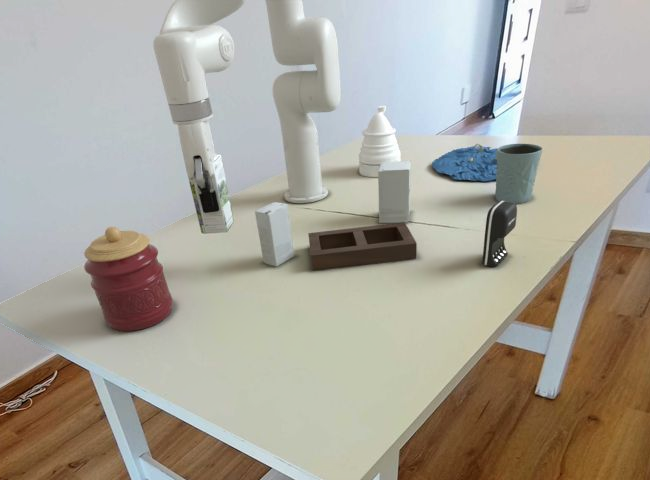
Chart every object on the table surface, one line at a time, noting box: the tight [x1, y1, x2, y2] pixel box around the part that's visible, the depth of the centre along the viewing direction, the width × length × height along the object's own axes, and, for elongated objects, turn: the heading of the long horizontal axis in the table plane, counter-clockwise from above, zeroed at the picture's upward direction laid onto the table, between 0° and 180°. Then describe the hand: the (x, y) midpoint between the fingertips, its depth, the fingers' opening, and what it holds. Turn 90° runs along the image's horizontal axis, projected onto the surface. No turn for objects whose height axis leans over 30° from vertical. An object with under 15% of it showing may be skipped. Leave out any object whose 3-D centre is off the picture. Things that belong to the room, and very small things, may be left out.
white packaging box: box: [377, 160, 412, 224], centre depth 120 cm, size 7×7×13 cm
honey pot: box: [358, 105, 402, 178], centre depth 151 cm, size 13×13×18 cm
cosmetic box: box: [254, 201, 295, 267], centre depth 106 cm, size 6×4×12 cm
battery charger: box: [481, 201, 518, 267], centre depth 96 cm, size 7×4×11 cm, turn 142°
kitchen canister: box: [83, 226, 174, 332], centre depth 91 cm, size 13×13×18 cm
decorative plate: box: [431, 143, 498, 182], centre depth 148 cm, size 30×30×5 cm
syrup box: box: [187, 153, 235, 235], centre depth 101 cm, size 6×6×14 cm
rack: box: [307, 222, 418, 272], centre depth 108 cm, size 12×22×4 cm, turn 93°
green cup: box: [494, 143, 543, 205], centre depth 123 cm, size 10×10×12 cm
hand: (213, 204), depth 102 cm, fingers closed on syrup box, 6 cm apart
